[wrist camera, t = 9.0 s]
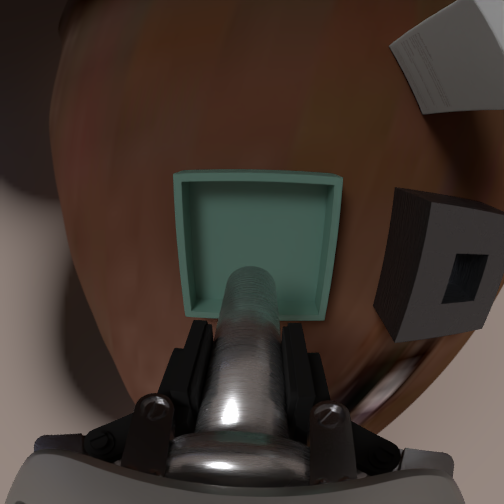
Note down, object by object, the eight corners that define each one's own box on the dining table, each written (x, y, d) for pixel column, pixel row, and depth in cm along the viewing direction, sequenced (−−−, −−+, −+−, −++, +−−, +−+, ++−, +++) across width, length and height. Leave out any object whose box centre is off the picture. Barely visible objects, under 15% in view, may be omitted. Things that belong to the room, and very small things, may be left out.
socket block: (394, 187, 21) (431, 202, 15) (480, 201, 21) (517, 218, 15) (373, 305, 25) (394, 342, 20) (455, 300, 25) (481, 328, 19)
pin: (213, 253, 16) (137, 457, 4) (289, 255, 16) (337, 468, 4) (216, 316, 17) (176, 502, 6) (284, 318, 17) (303, 508, 6)
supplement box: (468, 100, 17) (561, 100, 5) (420, 115, 18) (526, 112, 6) (438, 35, 14) (519, 3, 3) (385, 43, 16) (469, -10, 4)
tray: (183, 170, 21) (173, 173, 19) (333, 173, 21) (342, 177, 18) (192, 299, 26) (185, 316, 23) (318, 303, 25) (324, 320, 23)
